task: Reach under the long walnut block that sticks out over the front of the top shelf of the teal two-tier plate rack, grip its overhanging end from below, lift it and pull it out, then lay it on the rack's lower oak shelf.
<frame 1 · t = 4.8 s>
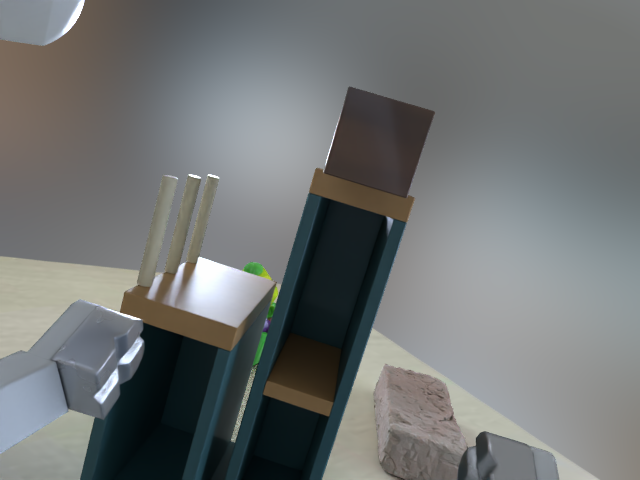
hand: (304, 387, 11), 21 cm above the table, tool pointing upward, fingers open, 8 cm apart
block: (365, 182, 30), point 26 cm above the table, touching plate rack
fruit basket: (251, 349, 63), on the table
brick: (409, 438, 53), on the table
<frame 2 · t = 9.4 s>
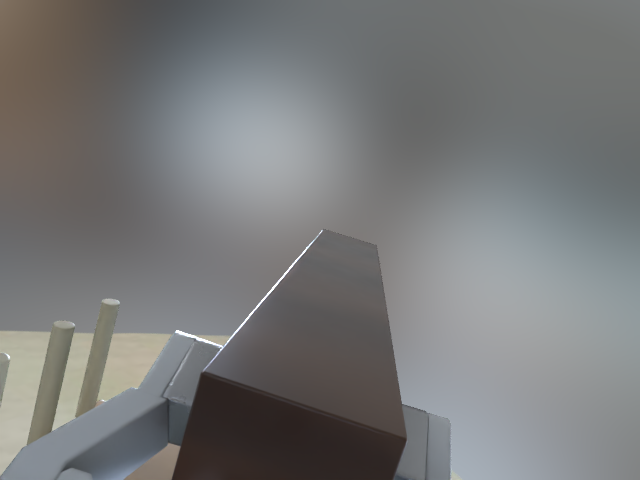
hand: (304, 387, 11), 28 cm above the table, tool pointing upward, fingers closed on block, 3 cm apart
block: (315, 352, 19), point 26 cm above the table, touching gripper, plate rack
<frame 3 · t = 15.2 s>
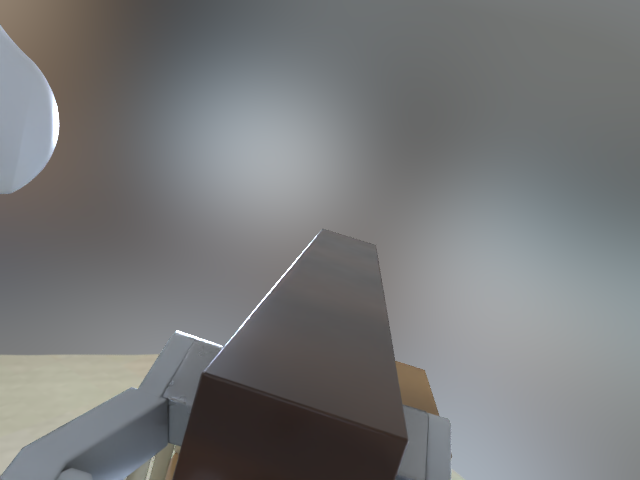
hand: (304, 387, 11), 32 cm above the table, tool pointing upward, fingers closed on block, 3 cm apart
block: (314, 352, 19), point 30 cm above the table, touching gripper
when the fingers open (18 cm above the table, at t = 21.3 s): block stays where it is, resting on plate rack.
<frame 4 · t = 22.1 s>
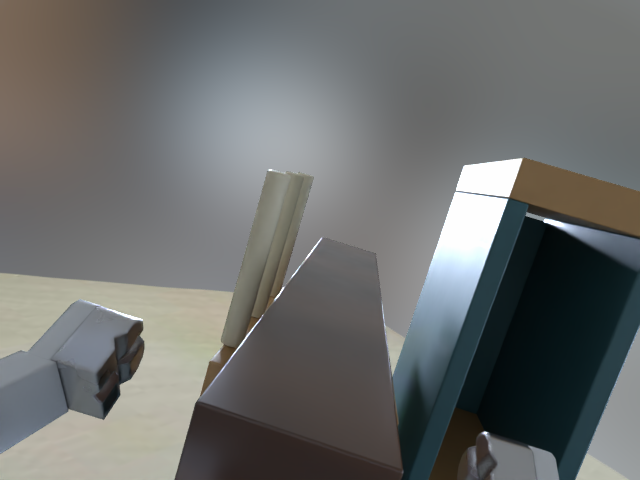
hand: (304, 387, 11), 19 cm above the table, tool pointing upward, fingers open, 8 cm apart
block: (313, 365, 19), point 16 cm above the table, touching plate rack
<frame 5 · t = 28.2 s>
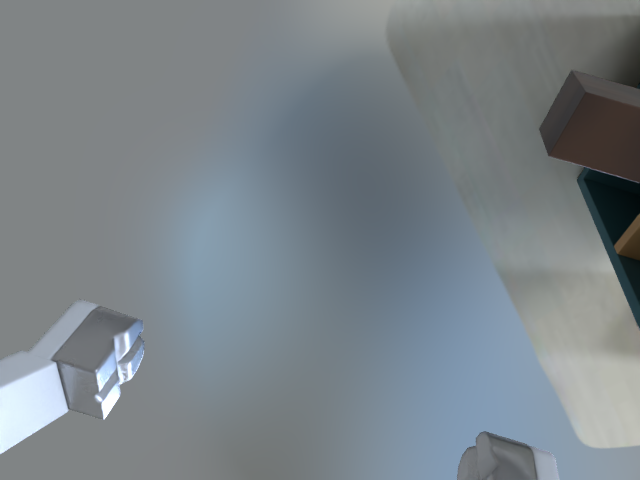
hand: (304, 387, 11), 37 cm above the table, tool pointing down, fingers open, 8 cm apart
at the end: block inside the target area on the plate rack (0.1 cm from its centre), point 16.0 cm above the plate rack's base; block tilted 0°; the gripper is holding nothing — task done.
